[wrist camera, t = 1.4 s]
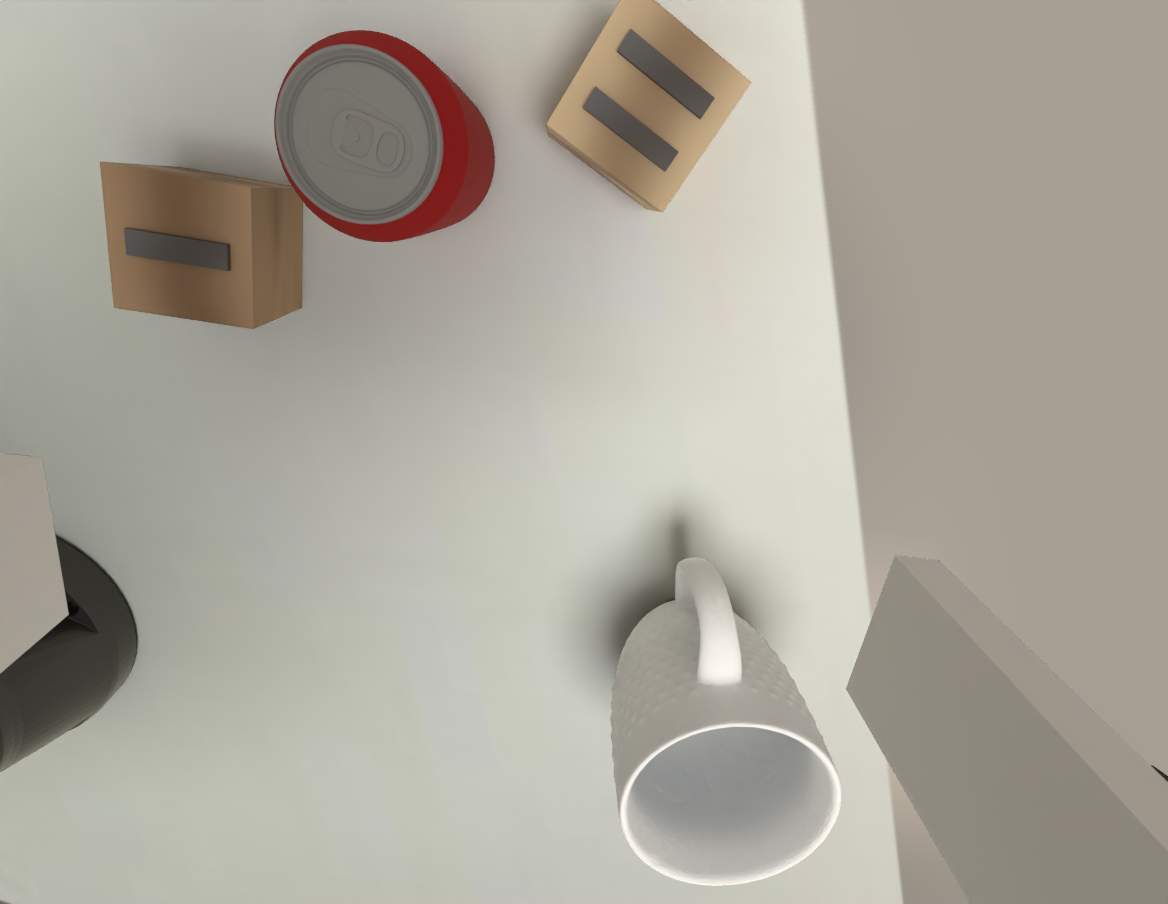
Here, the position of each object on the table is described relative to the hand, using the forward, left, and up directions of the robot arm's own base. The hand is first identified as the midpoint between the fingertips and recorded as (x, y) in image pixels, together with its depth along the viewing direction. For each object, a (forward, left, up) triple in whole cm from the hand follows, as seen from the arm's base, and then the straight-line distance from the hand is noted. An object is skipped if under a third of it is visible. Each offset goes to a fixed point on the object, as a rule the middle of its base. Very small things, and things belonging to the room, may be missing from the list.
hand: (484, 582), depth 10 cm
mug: (+16, -17, -27) cm, 35 cm away
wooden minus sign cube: (-15, -2, -27) cm, 31 cm away
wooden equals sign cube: (+2, +10, -27) cm, 29 cm away
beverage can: (-7, +5, -27) cm, 29 cm away
